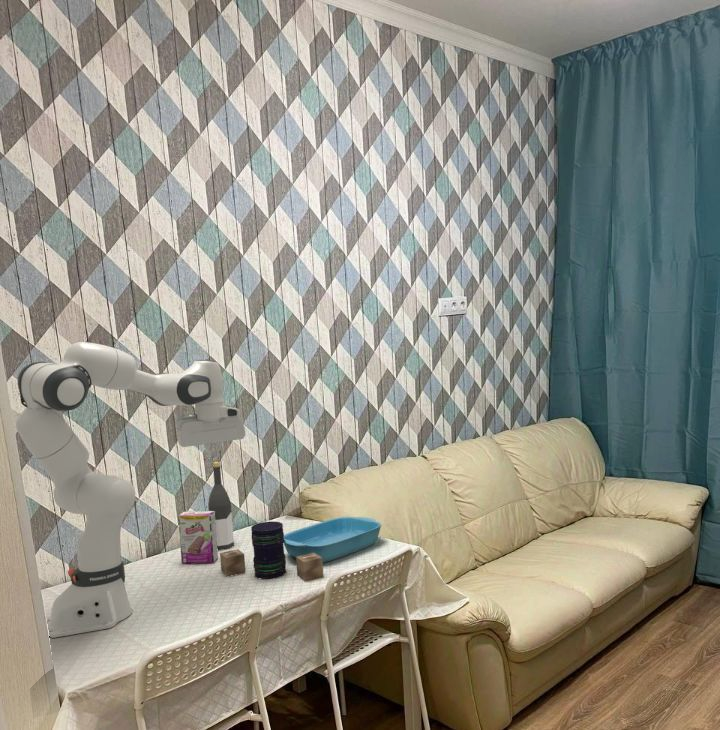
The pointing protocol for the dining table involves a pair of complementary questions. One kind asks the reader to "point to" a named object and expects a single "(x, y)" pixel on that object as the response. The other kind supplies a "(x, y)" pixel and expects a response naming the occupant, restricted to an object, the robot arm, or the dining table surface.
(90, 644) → the dining table surface
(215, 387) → the robot arm
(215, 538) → the candy bar box
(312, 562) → the walnut block one
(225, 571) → the walnut block seven
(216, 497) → the wine bottle
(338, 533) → the casserole dish
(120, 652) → the dining table surface
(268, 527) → the dark blue rusty barrel
